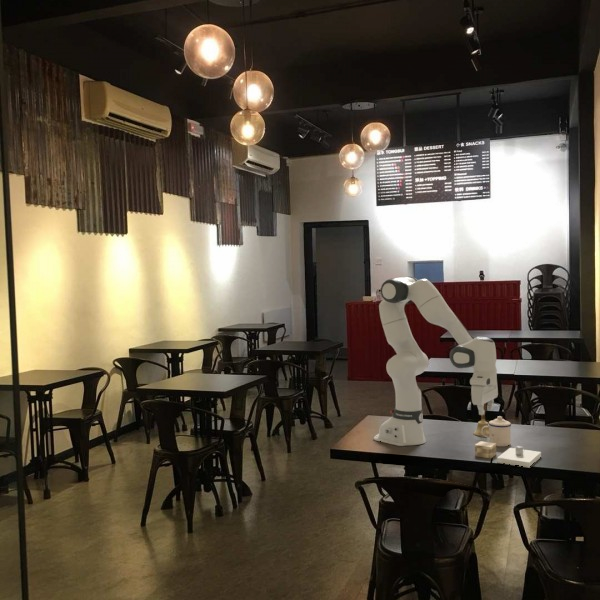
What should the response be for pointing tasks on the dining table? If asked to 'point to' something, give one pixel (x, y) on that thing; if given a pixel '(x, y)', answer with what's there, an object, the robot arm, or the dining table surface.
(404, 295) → the robot arm
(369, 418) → the dining table surface
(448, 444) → the dining table surface
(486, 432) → the hand bell
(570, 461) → the dining table surface
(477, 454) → the beige wooden block
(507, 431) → the teacup with lid
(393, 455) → the dining table surface
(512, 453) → the post base
